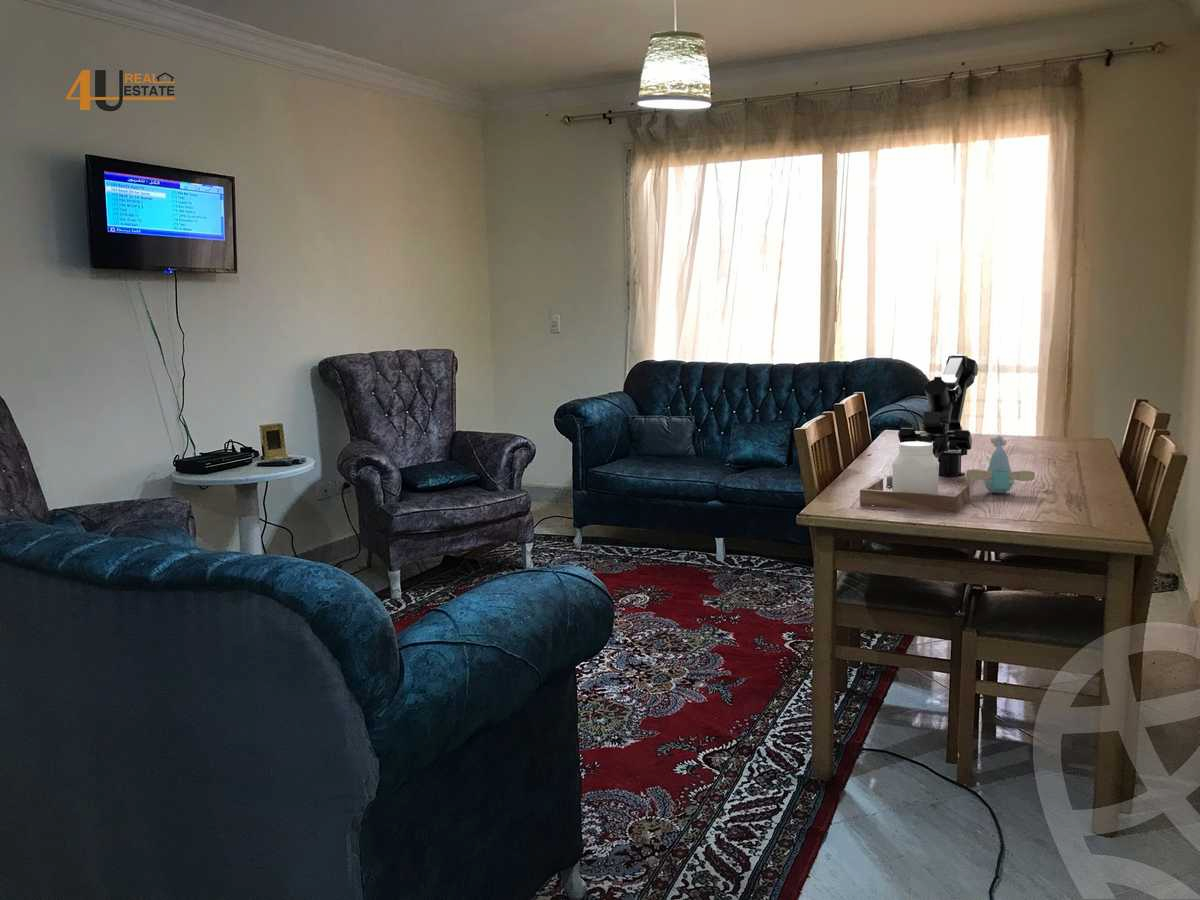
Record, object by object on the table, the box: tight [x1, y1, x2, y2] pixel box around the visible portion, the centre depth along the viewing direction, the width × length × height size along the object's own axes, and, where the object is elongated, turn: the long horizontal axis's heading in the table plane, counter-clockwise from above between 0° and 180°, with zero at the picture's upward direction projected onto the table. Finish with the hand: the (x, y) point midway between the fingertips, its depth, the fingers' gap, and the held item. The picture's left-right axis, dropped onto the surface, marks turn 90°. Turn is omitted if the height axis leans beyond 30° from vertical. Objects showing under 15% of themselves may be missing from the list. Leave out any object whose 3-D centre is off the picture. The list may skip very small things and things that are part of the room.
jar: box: [891, 441, 940, 495], centre depth 245 cm, size 12×10×15 cm
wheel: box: [886, 474, 893, 488], centre depth 266 cm, size 6×6×3 cm
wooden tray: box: [859, 477, 971, 514], centre depth 244 cm, size 18×23×4 cm
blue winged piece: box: [965, 434, 1036, 494], centre depth 251 cm, size 17×10×15 cm, turn 71°
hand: (929, 463), depth 256 cm, fingers closed
